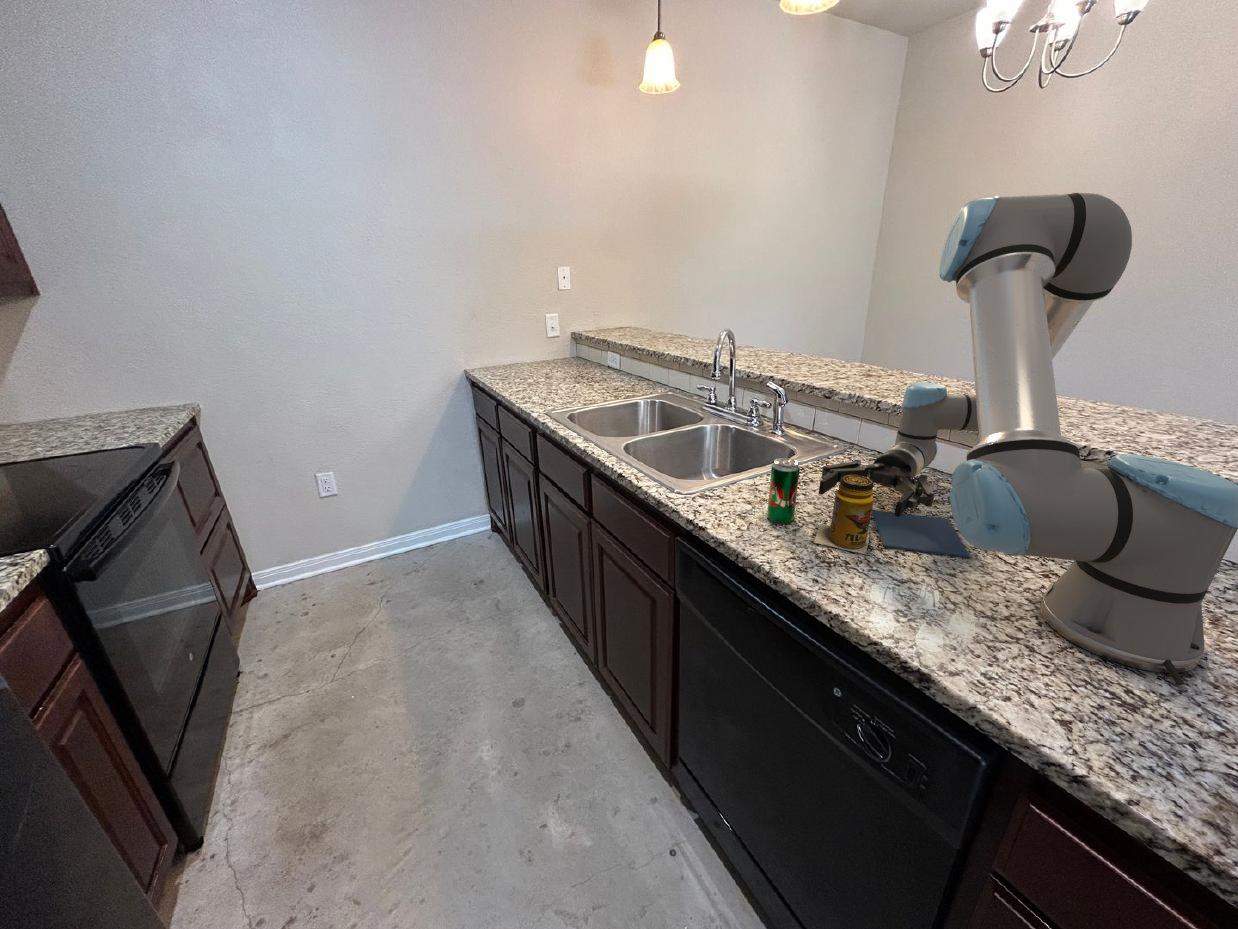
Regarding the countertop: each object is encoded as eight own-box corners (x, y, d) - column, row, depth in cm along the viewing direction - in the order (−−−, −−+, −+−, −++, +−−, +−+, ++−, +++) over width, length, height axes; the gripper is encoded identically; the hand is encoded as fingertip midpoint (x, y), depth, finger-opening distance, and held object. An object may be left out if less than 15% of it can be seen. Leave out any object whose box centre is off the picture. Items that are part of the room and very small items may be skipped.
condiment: (865, 555, 85) (877, 490, 80) (813, 543, 89) (821, 481, 84) (869, 536, 90) (880, 475, 86) (820, 525, 94) (828, 467, 90)
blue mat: (969, 558, 83) (970, 556, 83) (882, 546, 87) (883, 544, 87) (947, 520, 95) (948, 518, 95) (872, 512, 99) (873, 510, 99)
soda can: (790, 513, 100) (797, 457, 95) (796, 525, 95) (803, 466, 91) (764, 512, 100) (769, 456, 96) (769, 524, 95) (774, 466, 91)
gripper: (962, 499, 97) (930, 539, 83) (835, 468, 114) (791, 497, 100) (971, 463, 95) (940, 498, 81) (840, 437, 111) (795, 462, 97)
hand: (857, 498), depth 90 cm, fingers open, 13 cm apart
